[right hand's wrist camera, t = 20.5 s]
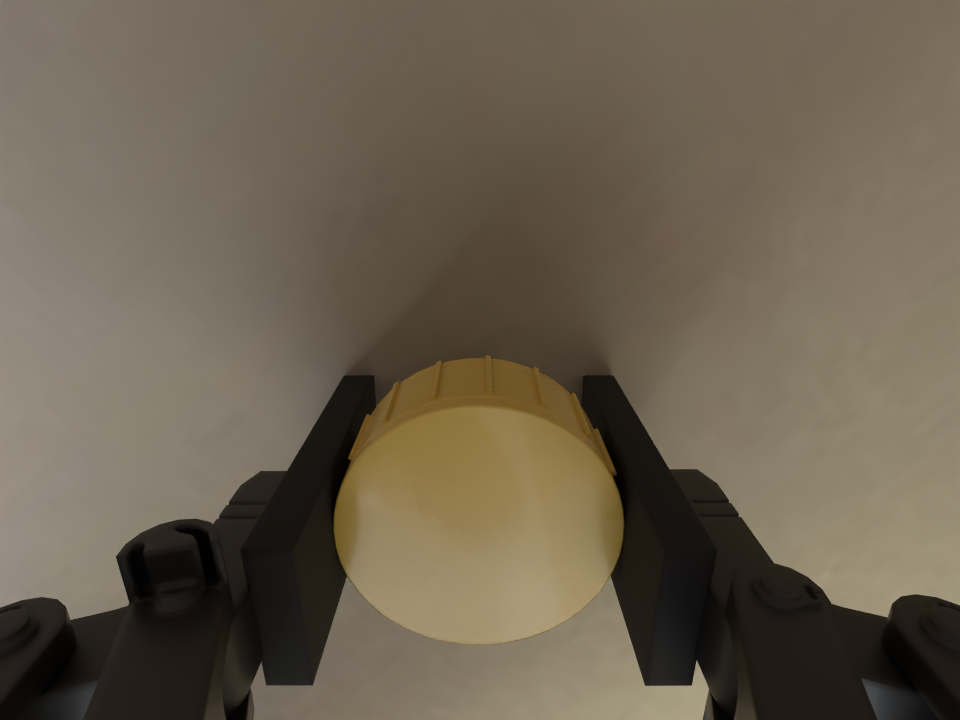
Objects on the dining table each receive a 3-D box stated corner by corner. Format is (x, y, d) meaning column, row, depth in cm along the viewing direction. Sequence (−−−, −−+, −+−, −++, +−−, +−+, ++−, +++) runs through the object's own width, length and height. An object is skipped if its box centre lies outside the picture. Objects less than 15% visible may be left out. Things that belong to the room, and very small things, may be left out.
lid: (640, 512, 13) (673, 586, 11) (432, 598, 14) (423, 683, 12) (537, 309, 11) (551, 348, 9) (307, 424, 12) (269, 484, 10)
